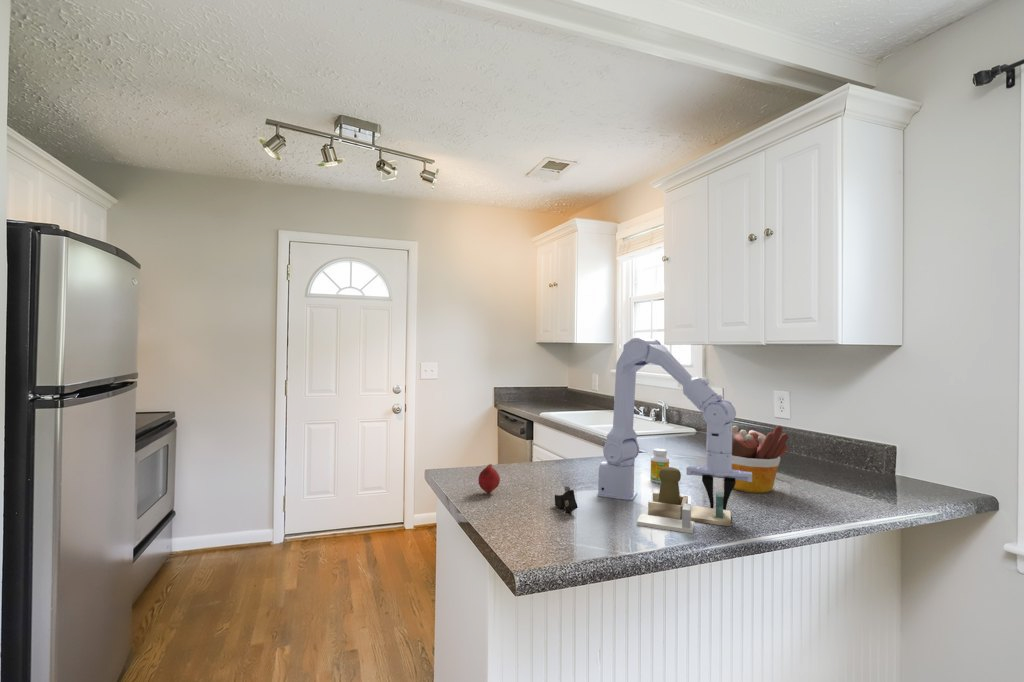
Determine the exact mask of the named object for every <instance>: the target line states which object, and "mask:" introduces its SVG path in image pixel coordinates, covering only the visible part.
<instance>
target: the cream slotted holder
mask: <svg viewBox="0 0 1024 682" xmlns="http://www.w3.org/2000/svg"><path fill="white" fill-rule="evenodd" d="M723 497H724V491H721V490H720V491H719V490H716V491H715V508H710V507H705V506H697V505H691V521H693V522H696V523H697V522H698V523H706V524H710V525H711V524H712V525H718V526H726V527H731V526H732V518H731V516H732V515H731V510H727V509H726V510H723ZM658 499H659V492H655V491H652V501H651V500H649V501H648V502H647V515H652V516H659V517H666V518H673V519H679V520H682V509H683V505H684V503H686V504H689V502H688V501H689V500H688V499H689V497H688V496H686V495H681V494H680V501H681V505H675V504H668V503H660V502H658Z"/></svg>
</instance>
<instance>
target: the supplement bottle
mask: <svg viewBox="0 0 1024 682" xmlns="http://www.w3.org/2000/svg"><path fill="white" fill-rule="evenodd" d="M652 453H653V455H652V456H651V457H650V481H651V482H652V483H657V484H661V479H660V477H659V471H660V469H661V468H663V467H670V458H669V457H668V456H667V455H668V451H667V449H664V448H653V452H652Z"/></svg>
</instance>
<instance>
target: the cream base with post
mask: <svg viewBox="0 0 1024 682" xmlns="http://www.w3.org/2000/svg"><path fill="white" fill-rule="evenodd" d="M691 506H692V504H691V503H688V504H686V503H684V505H683V509H682V519H676V518H669V517H662V516H655V515H648V514H643V513H640V515H639V517H638V519H637V521H636V526H641V527H646V528H647V527H648V528H655V529H661V530H667V531H673V532H674V531H675V532H681V533H687V534H692V535H693V533H694V530H695V529H694V528H695V521H691Z"/></svg>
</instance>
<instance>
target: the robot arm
mask: <svg viewBox="0 0 1024 682" xmlns="http://www.w3.org/2000/svg"><path fill="white" fill-rule="evenodd" d="M622 347H623V349H622V351H621V354H620V355H619V356H620V357H619V358H618V360H617V361H616V365H615V380H614V381H615V382H614V383H615V384H614V398H613V399H614V401H613V402H614V403H613V420H612V427H611V430H610V431H609V432H608V433H607V435H606V441H605V443H604V446H603V448H602V452H603V457H604V459H605V460H606V461H601V462H600V463H599V467H598V485H597V486H598V489H597V491H598V493H597V496H598V497H603V498H610V499H619V500H624V501H634V499H635V497H636V496H637V494H638V492H637V491H635V461H636V458H637V457H638V456H639V454H640V446H639V445H640V444H639V443H638V439H637V438H638V436H637V433H636V431H635V430H634V420H635V419H634V415H635V401H636V398H635V396H636V379H637V372H638V371H640V369H642V368H643V367H645V366H646V365H648V364H652V365H657V366H660V367H661V368H662V369H663V370H664V371H666V373H668V375H670V376H671V377H672V378H673V379H674V380H675V381H676V382H678V384H680V385H681V387H682V394H683V395H684V396H685V397H686V398H687V399H688V400H689V401H690V402H691V403H692V404H693V405H694V406H695V407H696V408H697V409H698V410H699V411H700V412H701V413H702V418H703V421H705V423H706V449H705V451H706V453H705V466H701V465H699V466H697V465H687V466H686V476H697V477H702V478H701V481H702V483H703V485H704V488H705V490H706V493H707V497H708V500H709V508H714V504H715V501H714V478H718V479H723V510H727V505H728V501H729V499H730V496H731V493H732V491H733V490H734V486H735V484H736V482H735V480H743V481H747V482H752V472H745V471H739V470H733V469H732V427H733V423H732V422H733V421H734V420H735V418H736V416H737V411H736V408H735V407H734V405H733V404H732V402H731V401H729V400H726V399H723V398H724V397H723V396H722V394H717V393H716V391H714V390H713V389H712V388H711V386H709V383H710V382H708V380H707V379H702V378H701V377H693V376H692V374H691V373H690V372H689V371H688V370H687V369H686V368H685V367H684V366H683V365H682V364H681V363H680V362H679V361H678V359H677V358H675V356H673V354H672V353H671V352H670V350H668V348H667V347H666V346H665V345H663V344H661V342H660V341H659V340H658V339H655V338H642V337H633V338H631V339H630V340H628V341H627V342H625V343H624V344H623V345H622ZM714 509H715V508H714Z"/></svg>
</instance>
